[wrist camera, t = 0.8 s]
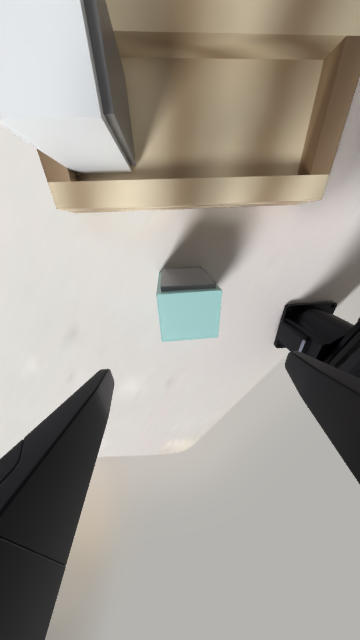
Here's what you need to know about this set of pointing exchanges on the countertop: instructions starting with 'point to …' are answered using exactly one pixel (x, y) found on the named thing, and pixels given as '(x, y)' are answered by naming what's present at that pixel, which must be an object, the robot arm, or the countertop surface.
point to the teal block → (188, 304)
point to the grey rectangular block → (65, 84)
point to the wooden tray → (225, 104)
